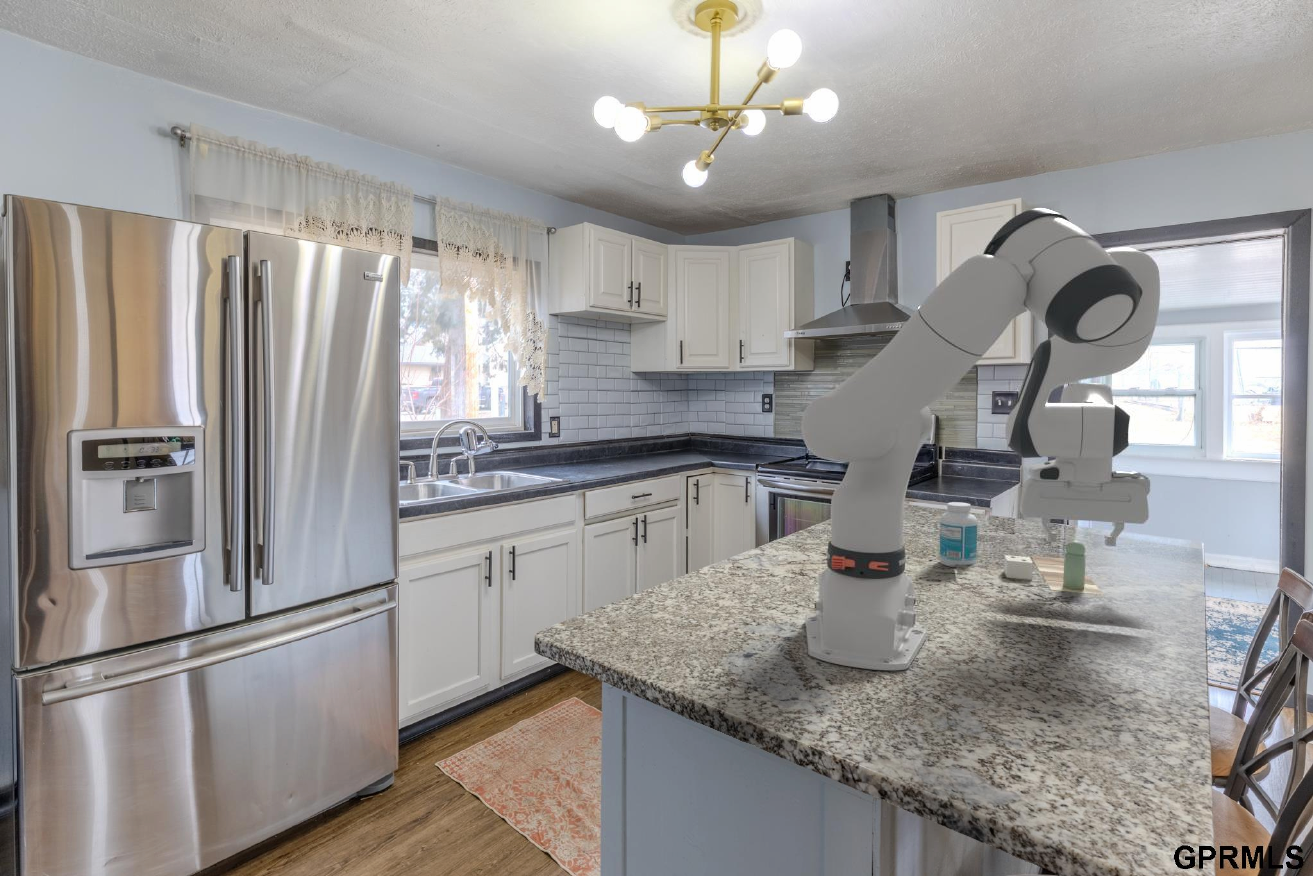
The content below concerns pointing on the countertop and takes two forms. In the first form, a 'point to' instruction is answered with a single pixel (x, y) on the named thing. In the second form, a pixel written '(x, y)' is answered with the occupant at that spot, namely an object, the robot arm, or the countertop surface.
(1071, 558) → the green bottle
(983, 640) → the countertop surface
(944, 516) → the pill bottle
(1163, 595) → the countertop surface
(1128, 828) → the countertop surface
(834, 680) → the countertop surface
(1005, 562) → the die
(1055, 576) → the board
